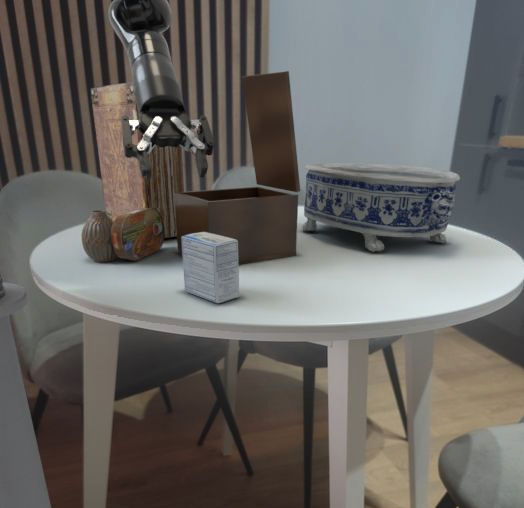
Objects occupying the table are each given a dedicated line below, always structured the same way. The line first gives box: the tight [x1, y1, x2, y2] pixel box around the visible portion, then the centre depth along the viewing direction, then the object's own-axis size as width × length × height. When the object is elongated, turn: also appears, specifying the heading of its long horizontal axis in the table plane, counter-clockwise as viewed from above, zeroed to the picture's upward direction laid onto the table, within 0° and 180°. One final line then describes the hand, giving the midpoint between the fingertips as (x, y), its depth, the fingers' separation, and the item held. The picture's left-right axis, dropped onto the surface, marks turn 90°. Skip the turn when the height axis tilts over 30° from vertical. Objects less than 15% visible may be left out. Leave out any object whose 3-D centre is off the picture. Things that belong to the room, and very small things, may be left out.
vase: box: [81, 209, 118, 263], centre depth 91 cm, size 7×7×9 cm
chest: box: [174, 186, 299, 265], centre depth 95 cm, size 19×14×11 cm
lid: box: [241, 70, 301, 193], centre depth 92 cm, size 20×14×1 cm
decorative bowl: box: [302, 162, 461, 253], centre depth 109 cm, size 42×27×15 cm, turn 32°
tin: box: [111, 208, 165, 262], centre depth 94 cm, size 15×3×8 cm, turn 161°
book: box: [90, 81, 185, 239], centre depth 110 cm, size 25×9×30 cm, turn 35°
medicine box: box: [181, 232, 240, 304], centre depth 73 cm, size 8×4×9 cm, turn 44°
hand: (176, 175), depth 78 cm, fingers open, 8 cm apart
